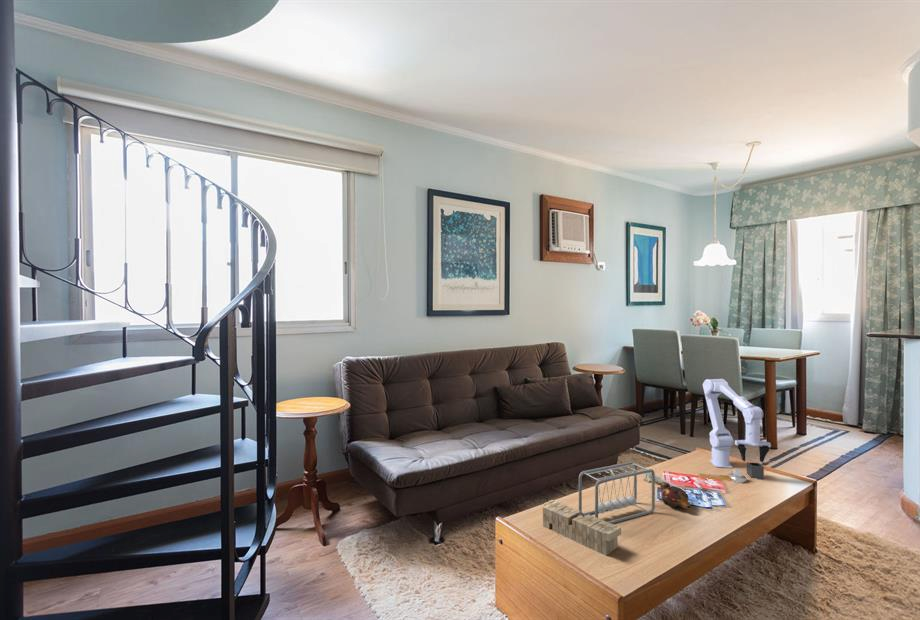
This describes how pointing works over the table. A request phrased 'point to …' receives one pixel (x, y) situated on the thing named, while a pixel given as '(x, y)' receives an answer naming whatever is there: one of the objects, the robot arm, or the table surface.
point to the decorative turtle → (674, 496)
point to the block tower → (581, 527)
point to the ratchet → (735, 476)
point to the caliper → (658, 479)
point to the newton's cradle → (616, 503)
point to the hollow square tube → (755, 470)
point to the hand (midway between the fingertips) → (752, 460)
